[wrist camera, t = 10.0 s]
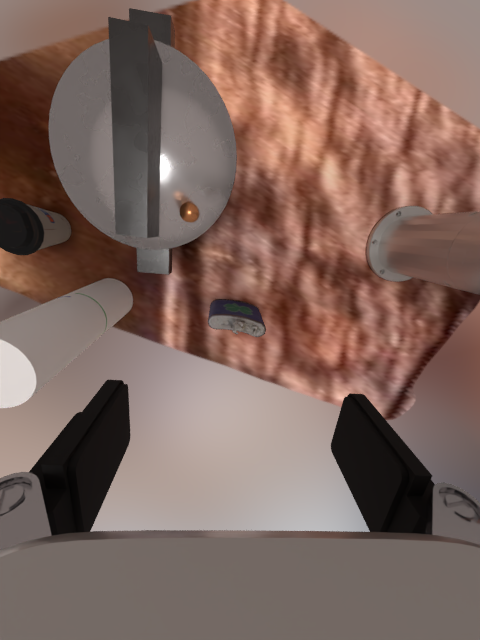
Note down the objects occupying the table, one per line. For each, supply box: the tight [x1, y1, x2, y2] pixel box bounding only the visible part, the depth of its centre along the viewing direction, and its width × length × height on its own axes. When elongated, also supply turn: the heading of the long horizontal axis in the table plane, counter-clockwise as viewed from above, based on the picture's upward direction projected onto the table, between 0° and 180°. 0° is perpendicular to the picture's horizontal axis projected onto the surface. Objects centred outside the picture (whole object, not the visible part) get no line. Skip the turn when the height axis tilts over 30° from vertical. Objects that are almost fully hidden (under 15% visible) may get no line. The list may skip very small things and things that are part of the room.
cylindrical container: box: [0, 278, 133, 408], centre depth 34 cm, size 7×7×25 cm
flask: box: [208, 299, 266, 337], centre depth 42 cm, size 9×3×11 cm, turn 78°
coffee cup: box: [0, 198, 71, 255], centre depth 36 cm, size 7×7×10 cm
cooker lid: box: [49, 17, 237, 250], centre depth 25 cm, size 19×19×6 cm
